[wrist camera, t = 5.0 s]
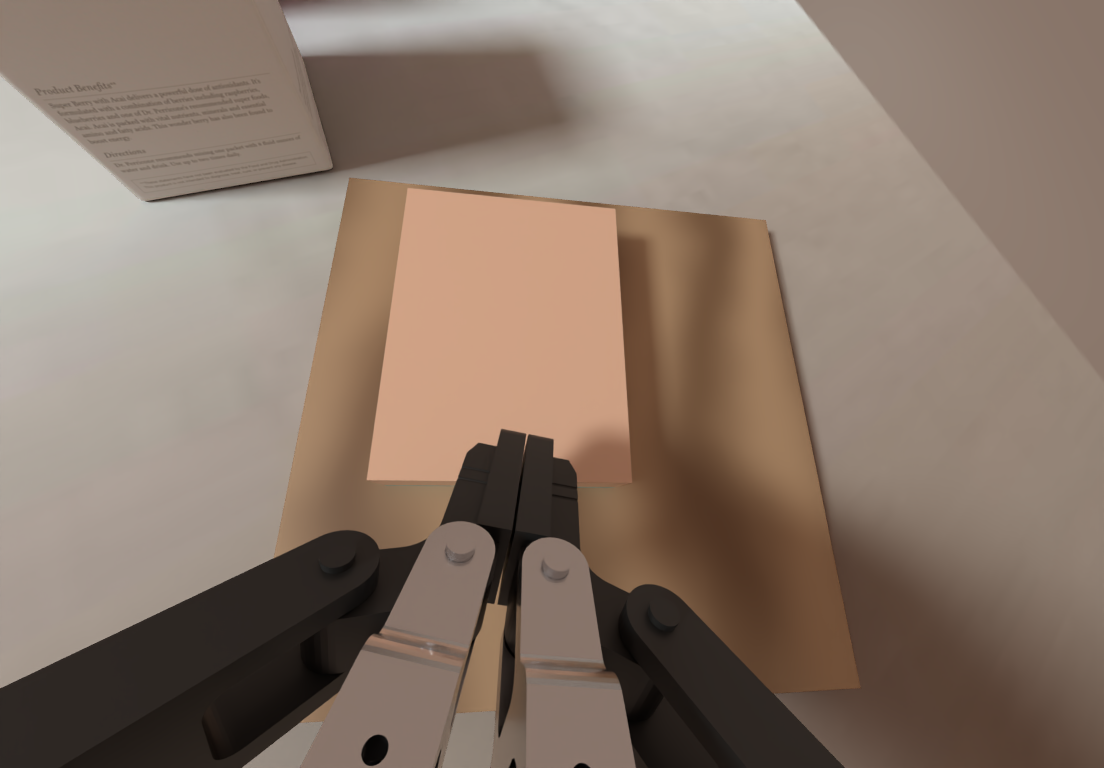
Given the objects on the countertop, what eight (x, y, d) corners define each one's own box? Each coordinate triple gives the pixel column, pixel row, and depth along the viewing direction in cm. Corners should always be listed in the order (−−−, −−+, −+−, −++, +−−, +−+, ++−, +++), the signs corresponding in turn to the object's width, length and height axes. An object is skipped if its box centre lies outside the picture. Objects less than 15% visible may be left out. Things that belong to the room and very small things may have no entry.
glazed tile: (612, 487, 17) (601, 244, 20) (632, 483, 14) (615, 208, 18) (385, 485, 16) (418, 227, 19) (366, 480, 13) (407, 188, 17)
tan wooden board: (752, 234, 24) (765, 220, 23) (835, 676, 17) (860, 687, 16) (357, 196, 21) (349, 177, 20) (260, 709, 14) (240, 726, 13)
